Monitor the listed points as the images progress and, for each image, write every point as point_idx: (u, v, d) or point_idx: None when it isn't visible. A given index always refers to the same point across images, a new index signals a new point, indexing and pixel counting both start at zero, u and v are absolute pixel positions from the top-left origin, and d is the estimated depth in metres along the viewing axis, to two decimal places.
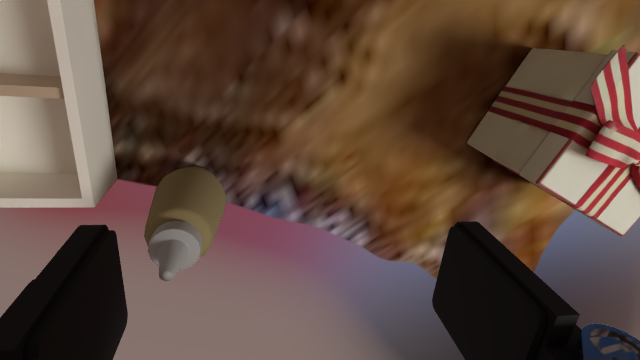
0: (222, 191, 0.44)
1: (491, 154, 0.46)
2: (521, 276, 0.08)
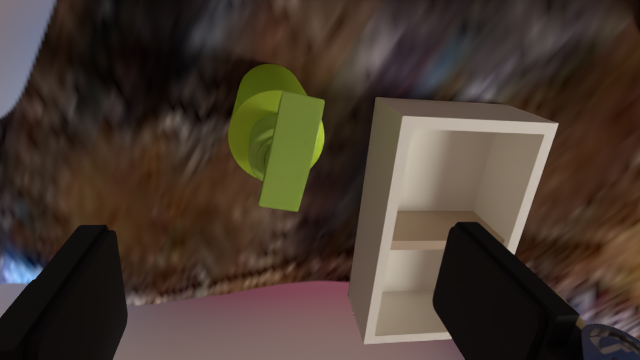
0: None
1: None
2: (521, 276, 0.08)
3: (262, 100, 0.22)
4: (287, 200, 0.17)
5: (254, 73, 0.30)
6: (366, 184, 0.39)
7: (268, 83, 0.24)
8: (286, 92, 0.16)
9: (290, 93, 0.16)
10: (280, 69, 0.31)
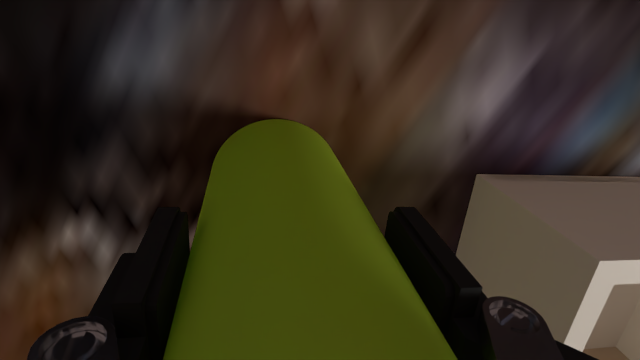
0: None
1: None
2: (439, 254, 0.09)
3: None
4: None
5: (242, 158, 0.13)
6: None
7: (287, 266, 0.07)
8: None
9: None
10: (301, 142, 0.14)
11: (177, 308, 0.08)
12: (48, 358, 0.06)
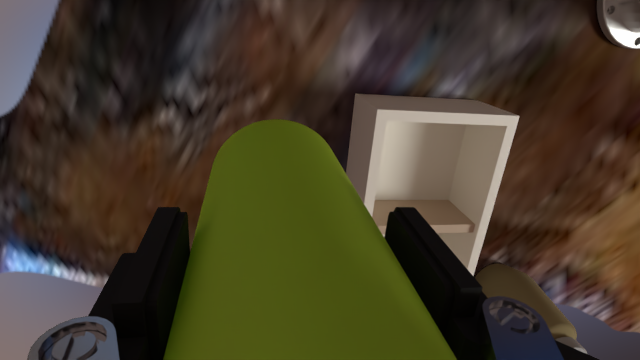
0: None
1: None
2: (439, 254, 0.09)
3: None
4: None
5: (242, 158, 0.13)
6: (348, 175, 0.42)
7: (287, 266, 0.07)
8: None
9: None
10: (302, 142, 0.14)
11: (177, 308, 0.08)
12: (48, 358, 0.06)
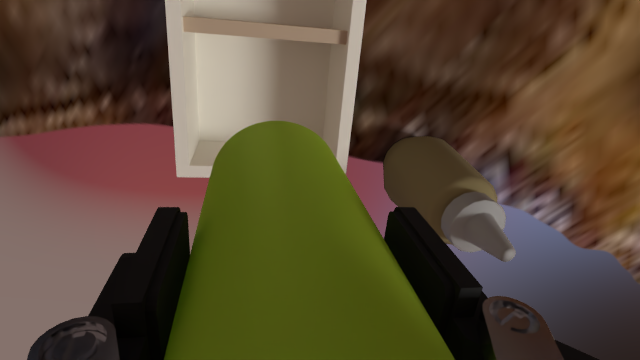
0: None
1: None
2: (439, 254, 0.09)
3: None
4: None
5: (242, 160, 0.13)
6: None
7: (287, 269, 0.07)
8: None
9: None
10: (301, 143, 0.14)
11: (177, 311, 0.08)
12: (48, 358, 0.06)
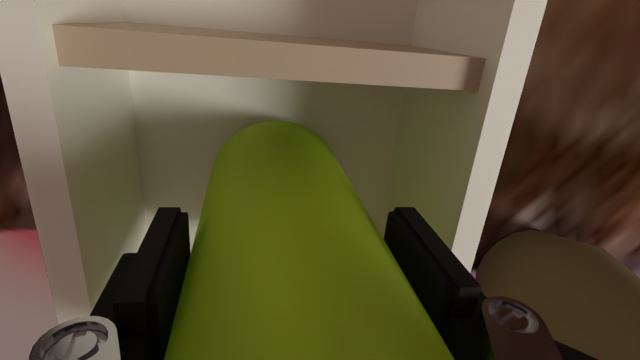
0: None
1: None
2: (438, 254, 0.09)
3: None
4: None
5: (242, 160, 0.13)
6: None
7: (286, 269, 0.07)
8: None
9: None
10: (301, 143, 0.14)
11: (177, 310, 0.08)
12: (50, 357, 0.06)
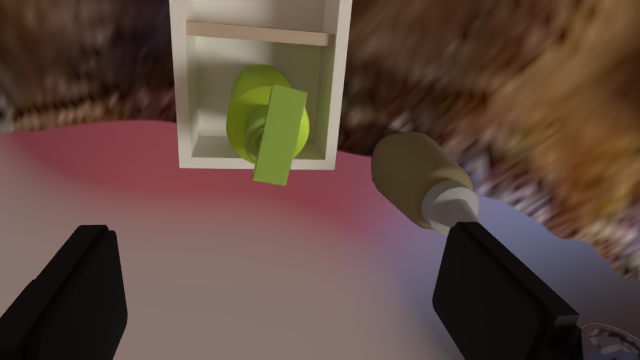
0: None
1: None
2: (521, 276, 0.08)
3: (255, 94, 0.26)
4: (276, 175, 0.21)
5: (248, 72, 0.34)
6: None
7: (260, 80, 0.28)
8: (276, 85, 0.19)
9: (279, 86, 0.19)
10: (271, 69, 0.35)
11: (231, 99, 0.29)
12: None
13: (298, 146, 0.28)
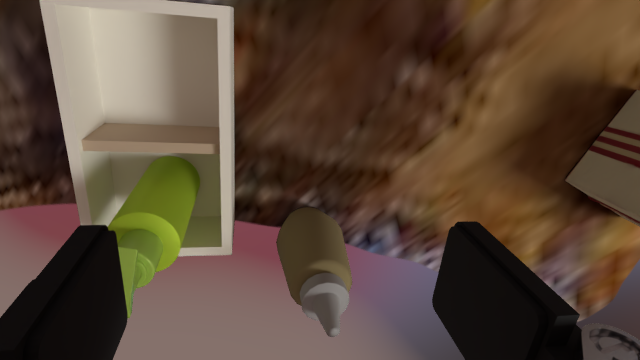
0: None
1: (600, 195, 0.47)
2: (521, 276, 0.08)
3: (126, 220, 0.30)
4: None
5: (148, 172, 0.38)
6: None
7: (140, 198, 0.32)
8: None
9: None
10: (172, 166, 0.39)
11: None
12: None
13: (171, 257, 0.32)
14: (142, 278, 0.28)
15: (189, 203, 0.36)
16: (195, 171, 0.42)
